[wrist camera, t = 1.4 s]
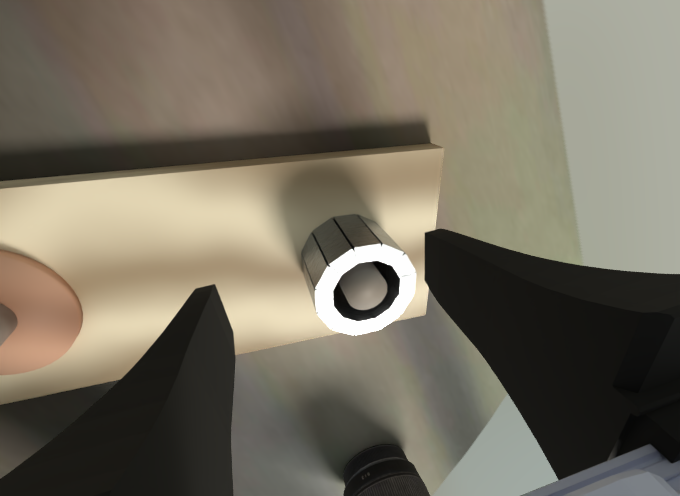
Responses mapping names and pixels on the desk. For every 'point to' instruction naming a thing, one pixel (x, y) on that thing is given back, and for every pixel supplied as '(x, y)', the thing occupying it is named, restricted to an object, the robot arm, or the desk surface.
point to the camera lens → (382, 474)
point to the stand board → (190, 255)
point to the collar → (341, 255)
